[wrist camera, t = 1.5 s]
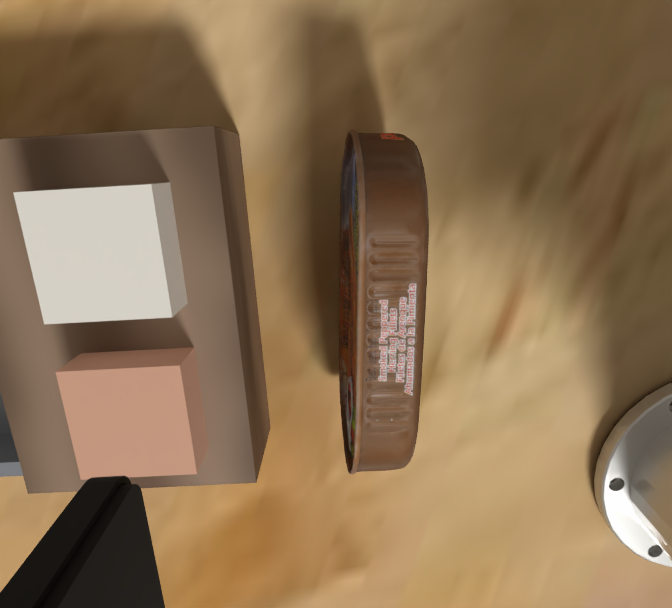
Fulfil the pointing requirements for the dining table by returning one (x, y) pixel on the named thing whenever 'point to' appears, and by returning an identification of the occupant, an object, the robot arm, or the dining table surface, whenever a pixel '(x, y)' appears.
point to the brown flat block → (140, 334)
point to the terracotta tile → (135, 412)
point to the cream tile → (103, 252)
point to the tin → (381, 298)
